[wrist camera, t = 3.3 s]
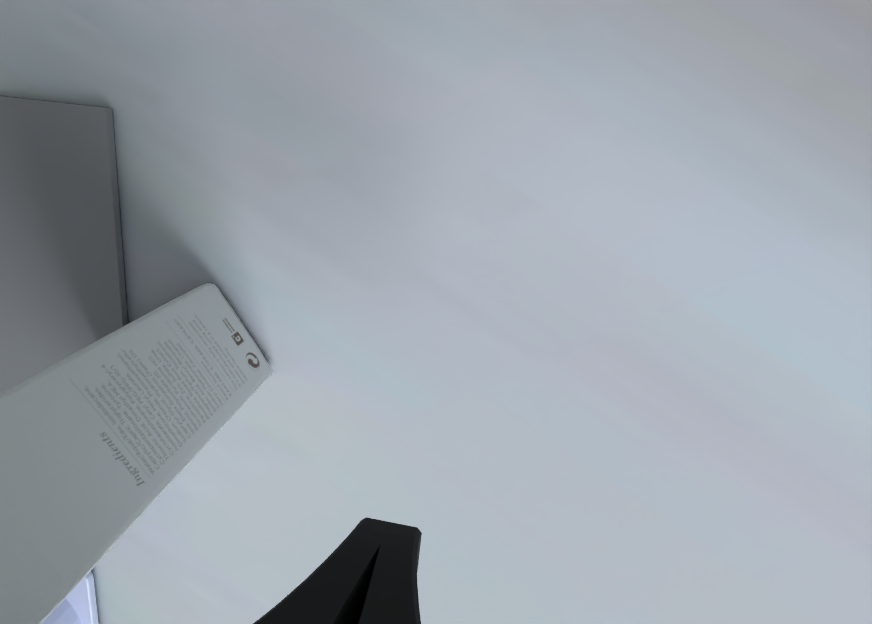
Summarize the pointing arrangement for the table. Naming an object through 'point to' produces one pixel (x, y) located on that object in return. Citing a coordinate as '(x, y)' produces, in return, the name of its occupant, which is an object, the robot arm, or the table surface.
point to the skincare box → (111, 440)
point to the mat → (57, 234)
